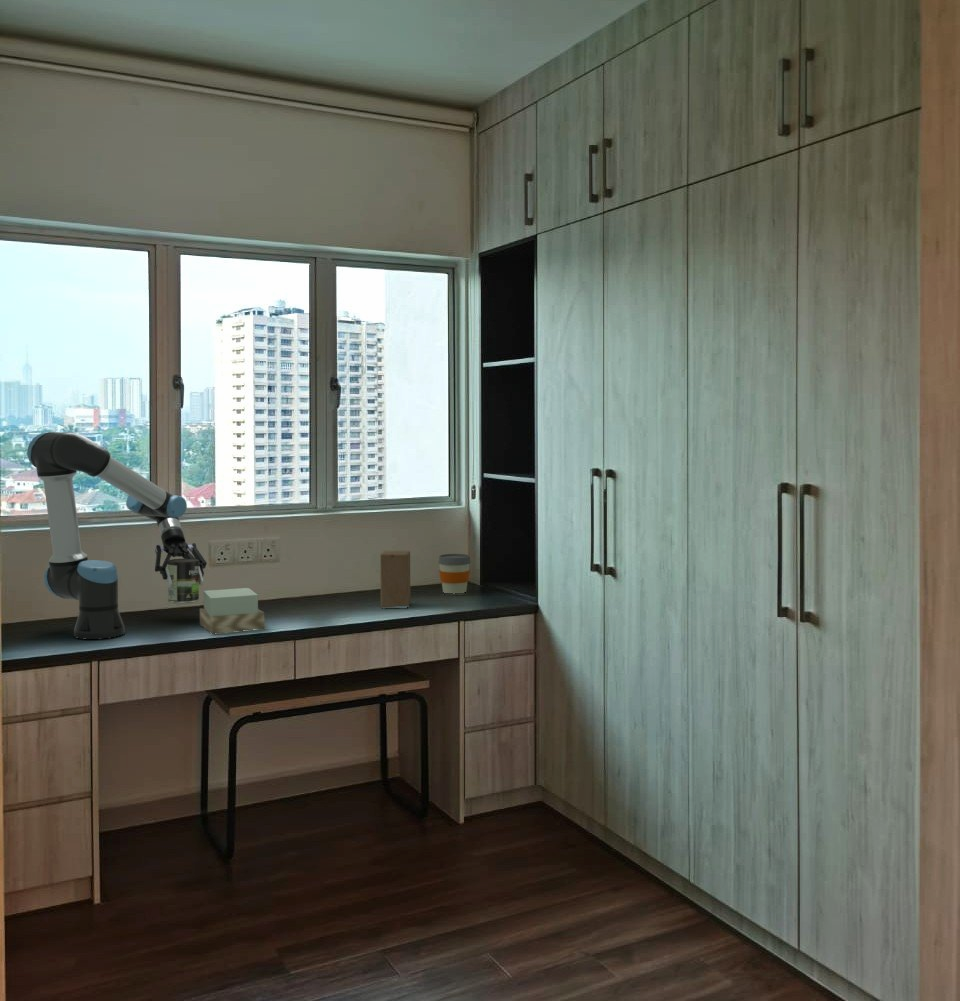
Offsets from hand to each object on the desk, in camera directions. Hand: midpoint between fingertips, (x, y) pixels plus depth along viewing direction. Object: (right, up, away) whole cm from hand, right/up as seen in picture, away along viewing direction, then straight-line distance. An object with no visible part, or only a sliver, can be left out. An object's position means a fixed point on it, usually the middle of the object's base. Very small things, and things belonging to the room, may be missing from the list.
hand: (186, 584), depth 342 cm
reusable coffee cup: (+89, -8, +56) cm, 106 cm away
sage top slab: (+17, -8, -8) cm, 20 cm away
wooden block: (+68, -11, +30) cm, 75 cm away
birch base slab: (+17, -14, -7) cm, 23 cm away
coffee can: (-2, -6, +3) cm, 7 cm away
